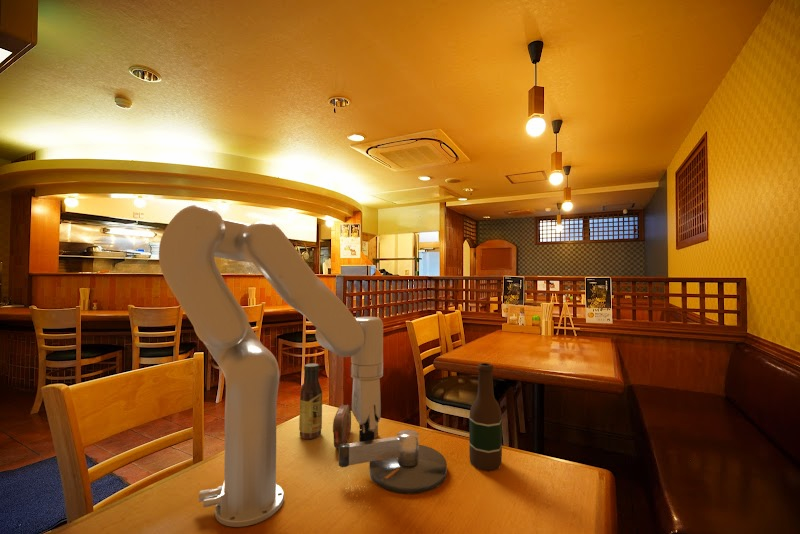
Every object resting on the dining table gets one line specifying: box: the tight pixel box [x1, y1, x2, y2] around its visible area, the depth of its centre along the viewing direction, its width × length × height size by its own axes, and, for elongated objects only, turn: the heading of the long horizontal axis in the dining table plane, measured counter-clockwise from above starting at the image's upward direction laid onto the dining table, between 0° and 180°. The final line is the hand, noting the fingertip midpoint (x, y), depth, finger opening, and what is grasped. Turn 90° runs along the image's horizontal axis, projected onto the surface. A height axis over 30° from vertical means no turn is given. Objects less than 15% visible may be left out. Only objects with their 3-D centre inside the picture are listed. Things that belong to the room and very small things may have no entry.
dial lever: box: [338, 429, 420, 468], centre depth 82 cm, size 19×5×6 cm, turn 109°
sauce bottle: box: [298, 363, 323, 440], centre depth 103 cm, size 6×6×20 cm
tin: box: [332, 404, 352, 449], centre depth 99 cm, size 15×3×8 cm, turn 179°
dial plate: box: [368, 444, 448, 495], centre depth 84 cm, size 18×18×2 cm
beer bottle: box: [468, 362, 503, 472], centre depth 88 cm, size 8×8×24 cm
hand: (366, 447), depth 85 cm, fingers closed
